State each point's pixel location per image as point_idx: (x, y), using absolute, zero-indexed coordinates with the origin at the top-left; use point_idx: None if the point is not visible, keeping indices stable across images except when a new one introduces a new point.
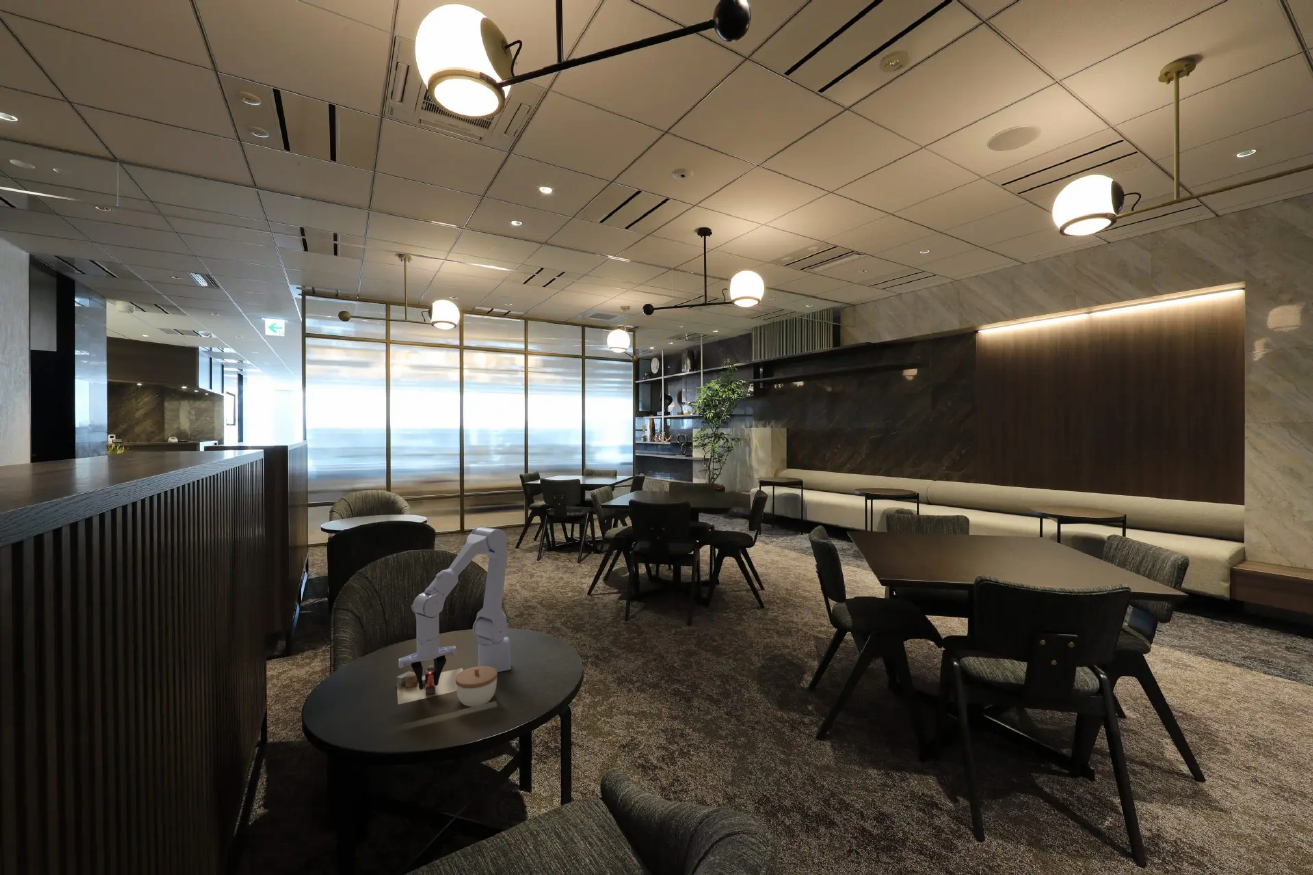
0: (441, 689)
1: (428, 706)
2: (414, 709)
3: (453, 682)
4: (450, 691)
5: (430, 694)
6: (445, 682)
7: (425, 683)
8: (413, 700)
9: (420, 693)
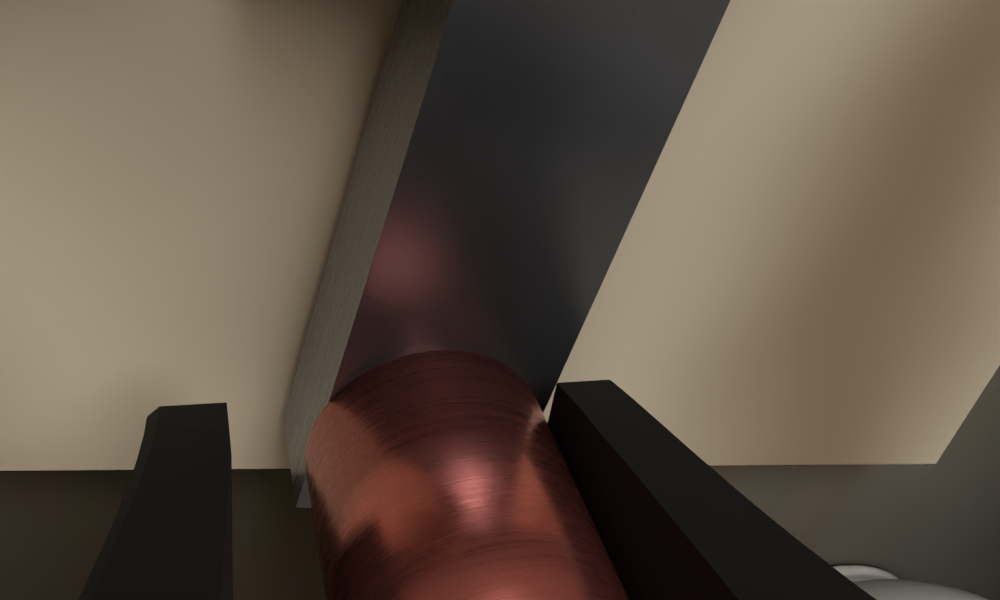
0: (626, 298)
1: (270, 535)
2: (27, 534)
3: (929, 142)
4: (699, 437)
5: None
6: (839, 35)
7: (322, 575)
8: (5, 451)
9: (198, 241)
